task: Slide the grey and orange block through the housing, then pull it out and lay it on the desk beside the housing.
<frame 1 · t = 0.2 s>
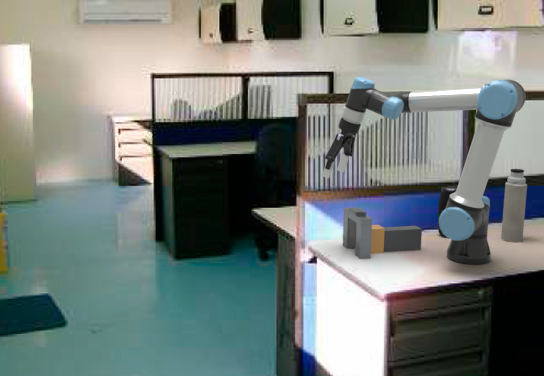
hand: (333, 174, 258), 27 cm above the table, tool tilted 20°, fingers open, 13 cm apart
portable speaker: (448, 236, 281), on the table
housing: (356, 251, 257), on the table
thermos bottle: (511, 239, 276), on the table
grey and orange block: (391, 249, 260), on the table
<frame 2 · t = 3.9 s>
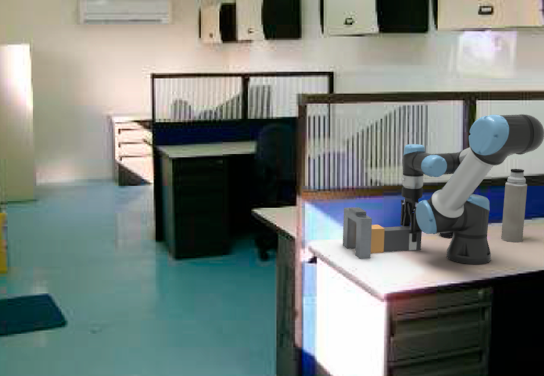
hand: (409, 247, 262), 0 cm above the table, tool pointing down, fingers closed on grey and orange block, 5 cm apart
grey and orange block: (391, 249, 260), on the table, touching gripper
everything else where it was.
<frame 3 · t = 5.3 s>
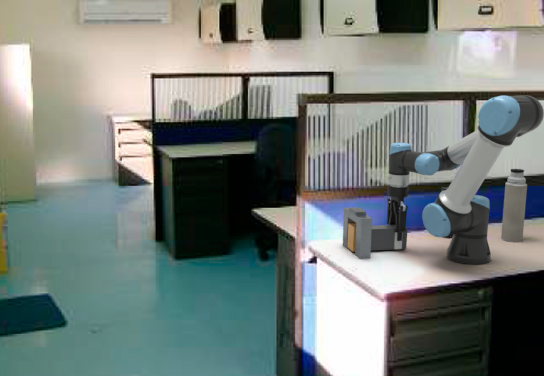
hand: (394, 246, 261), 1 cm above the table, tool pointing down, fingers closed on grey and orange block, 5 cm apart
grey and orange block: (377, 248, 259), point 1 cm above the table, touching gripper
everything else where it was.
when the fingers open (1 cm above the table, at t = 6.9 s): grey and orange block stays where it is, on the table.
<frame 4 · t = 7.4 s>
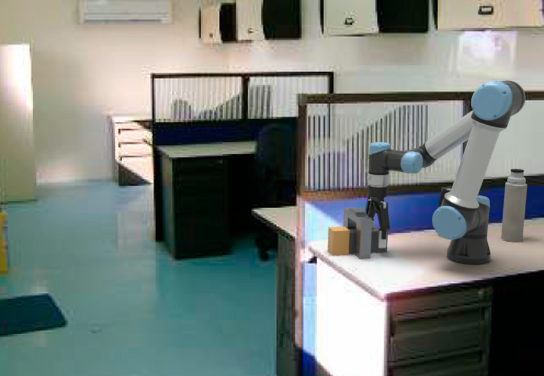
hand: (375, 243, 258), 3 cm above the table, tool pointing down, fingers open, 12 cm apart
grey and orange block: (357, 251, 257), on the table
everything else where it was.
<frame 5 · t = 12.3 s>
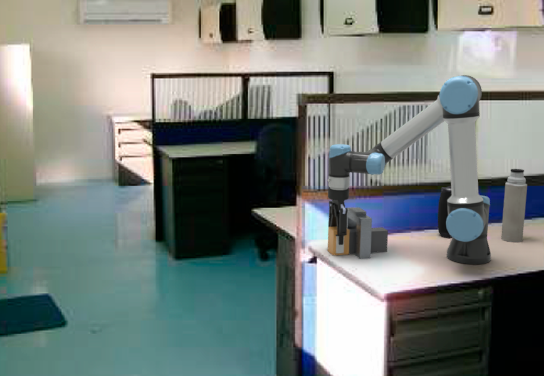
hand: (336, 250, 255), 1 cm above the table, tool pointing down, fingers closed on grey and orange block, 6 cm apart
grey and orange block: (357, 251, 257), on the table, touching gripper
everything else where it was.
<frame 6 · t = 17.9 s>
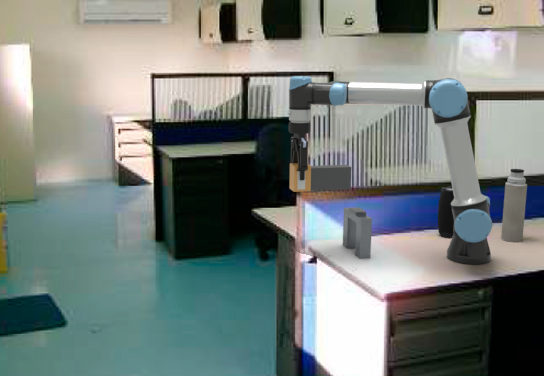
hand: (298, 187, 247), 25 cm above the table, tool pointing down, fingers closed on grey and orange block, 6 cm apart
grey and orange block: (320, 189, 249), point 24 cm above the table, touching gripper
everything else where it was.
when the fingers open (2 cm above the table, at t = 23.7 s): grey and orange block drops 2 cm, on the table.
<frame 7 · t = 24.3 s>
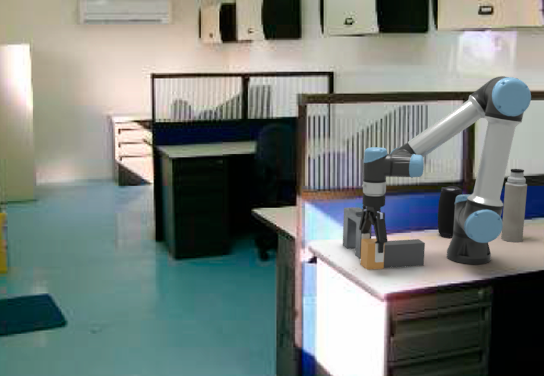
hand: (371, 256, 238), 4 cm above the table, tool pointing down, fingers open, 12 cm apart
grey and orange block: (392, 265, 241), on the table
everything else where it was.
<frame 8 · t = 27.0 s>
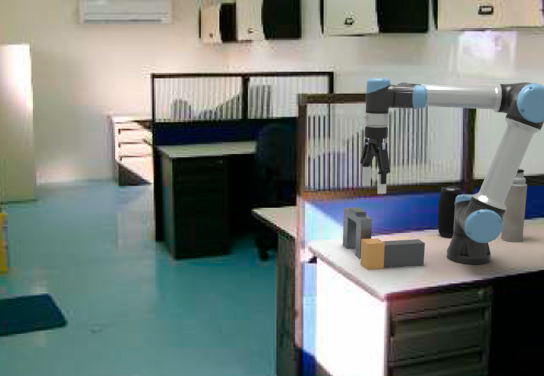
hand: (373, 189, 234), 27 cm above the table, tool pointing down, fingers open, 13 cm apart
nothing on the table moved.
at the end: grey and orange block inside the target area (1.1 cm from its centre), on the table; grey and orange block touching table; the gripper is holding nothing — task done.
